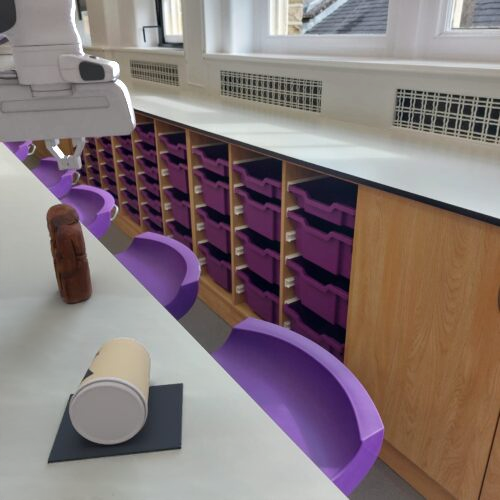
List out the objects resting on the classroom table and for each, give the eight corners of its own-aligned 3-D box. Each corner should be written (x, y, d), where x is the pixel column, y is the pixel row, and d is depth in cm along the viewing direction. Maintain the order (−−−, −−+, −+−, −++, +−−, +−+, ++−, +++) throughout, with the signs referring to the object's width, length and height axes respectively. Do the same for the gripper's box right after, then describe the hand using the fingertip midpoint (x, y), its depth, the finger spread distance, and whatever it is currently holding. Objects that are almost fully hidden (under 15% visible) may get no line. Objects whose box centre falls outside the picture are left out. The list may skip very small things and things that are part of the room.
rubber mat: (47, 463, 59) (47, 461, 59) (70, 395, 70) (70, 393, 70) (181, 448, 60) (180, 446, 60) (182, 384, 71) (182, 382, 71)
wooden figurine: (57, 282, 102) (38, 200, 94) (88, 275, 104) (73, 194, 97) (62, 308, 92) (42, 219, 85) (97, 299, 94) (80, 212, 87)
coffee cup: (88, 331, 68) (64, 382, 57) (156, 332, 69) (146, 383, 57) (91, 387, 71) (69, 446, 60) (156, 388, 72) (146, 446, 61)
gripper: (-40, 73, 62) (-11, 179, 68) (124, 66, 64) (138, 169, 69) (-20, 70, 68) (5, 167, 73) (129, 63, 69) (142, 159, 75)
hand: (70, 168), depth 71 cm, fingers closed
